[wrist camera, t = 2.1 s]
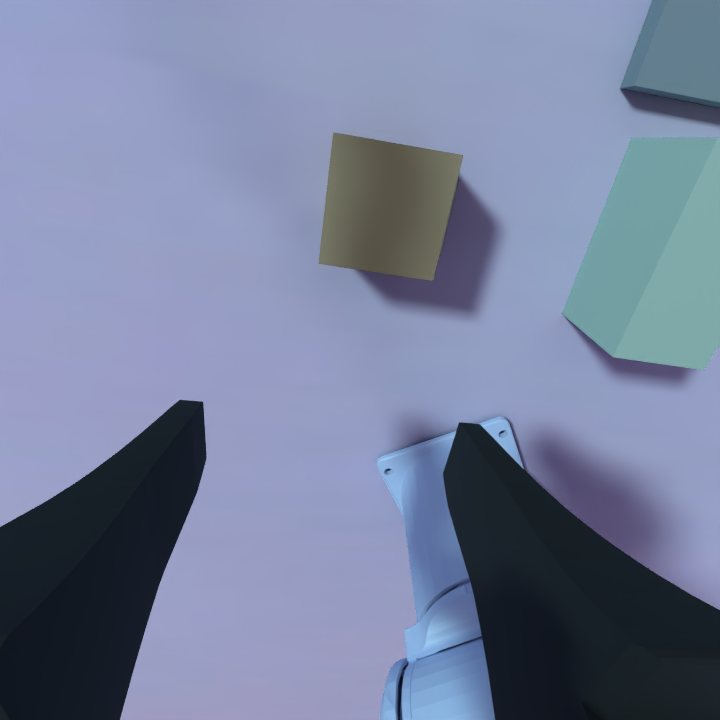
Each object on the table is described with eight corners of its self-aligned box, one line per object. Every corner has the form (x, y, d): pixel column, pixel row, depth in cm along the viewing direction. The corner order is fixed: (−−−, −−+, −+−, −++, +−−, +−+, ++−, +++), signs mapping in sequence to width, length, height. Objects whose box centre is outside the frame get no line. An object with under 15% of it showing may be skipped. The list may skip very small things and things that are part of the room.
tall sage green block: (629, 137, 18) (718, 137, 14) (716, 153, 19) (830, 158, 14) (560, 312, 22) (612, 357, 17) (634, 323, 22) (704, 370, 18)
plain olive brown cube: (445, 152, 18) (468, 156, 14) (422, 254, 20) (437, 281, 16) (338, 133, 18) (333, 132, 14) (325, 239, 20) (318, 263, 16)
